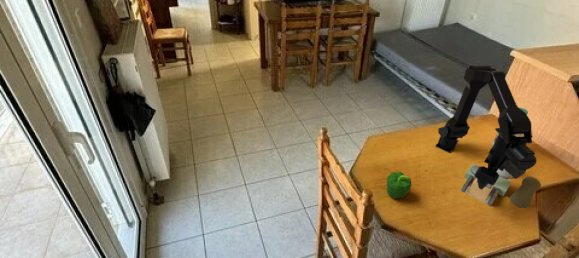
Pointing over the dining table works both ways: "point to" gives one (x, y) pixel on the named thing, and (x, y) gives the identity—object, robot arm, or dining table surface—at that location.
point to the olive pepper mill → (525, 192)
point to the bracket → (493, 191)
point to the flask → (504, 174)
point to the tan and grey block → (478, 192)
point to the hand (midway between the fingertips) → (484, 181)
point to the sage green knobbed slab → (500, 183)
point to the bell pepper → (398, 184)
